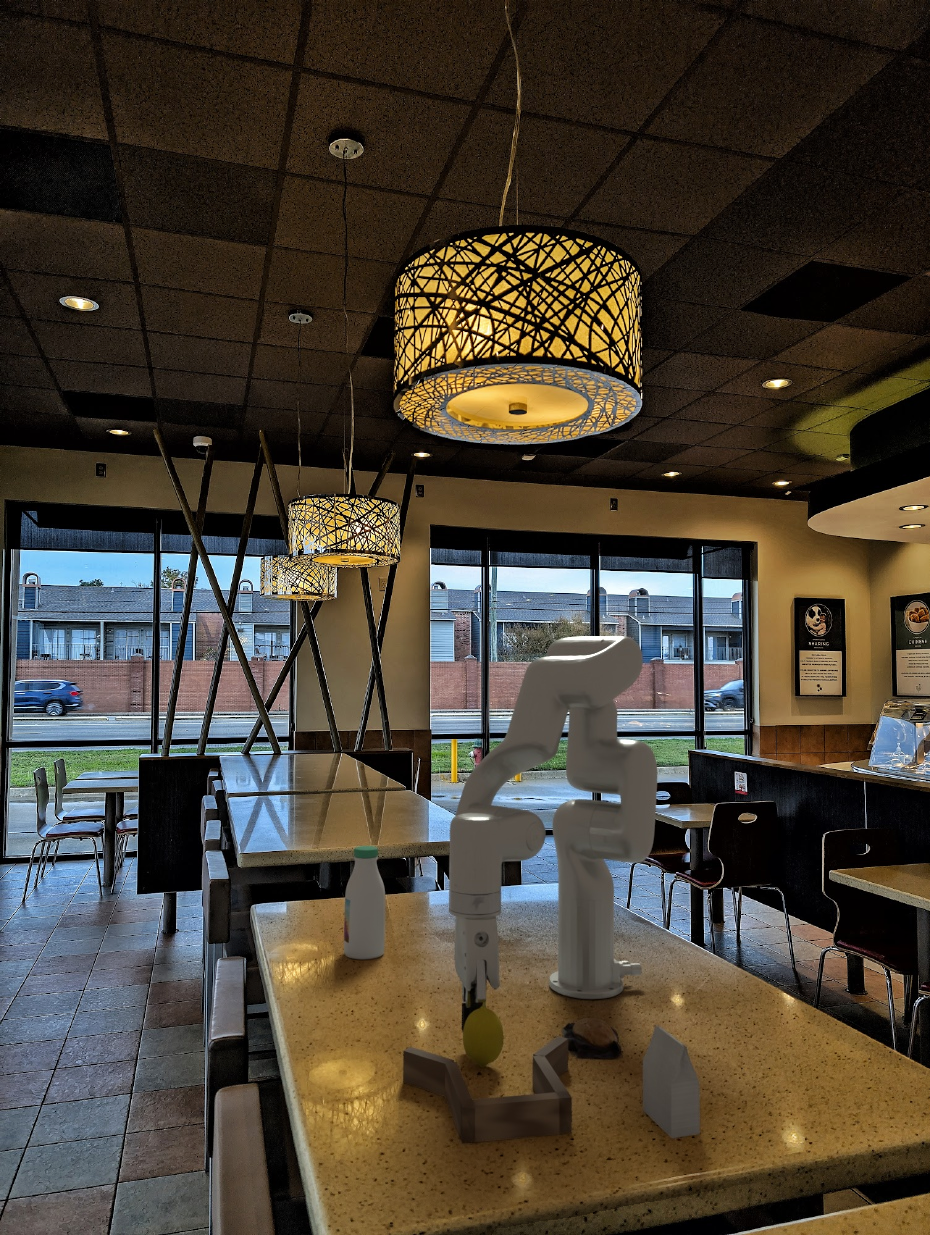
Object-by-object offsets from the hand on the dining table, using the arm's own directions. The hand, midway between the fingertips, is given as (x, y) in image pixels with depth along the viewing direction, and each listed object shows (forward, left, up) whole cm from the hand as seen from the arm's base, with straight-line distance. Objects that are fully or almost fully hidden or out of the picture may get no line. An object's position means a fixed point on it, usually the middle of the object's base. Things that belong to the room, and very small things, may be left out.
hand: (473, 1032), depth 123 cm
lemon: (0, +6, -2) cm, 6 cm away
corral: (0, +16, -2) cm, 16 cm away
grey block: (-19, +24, -3) cm, 31 cm away
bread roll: (-17, +1, -3) cm, 18 cm away
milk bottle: (+12, -45, -2) cm, 47 cm away
